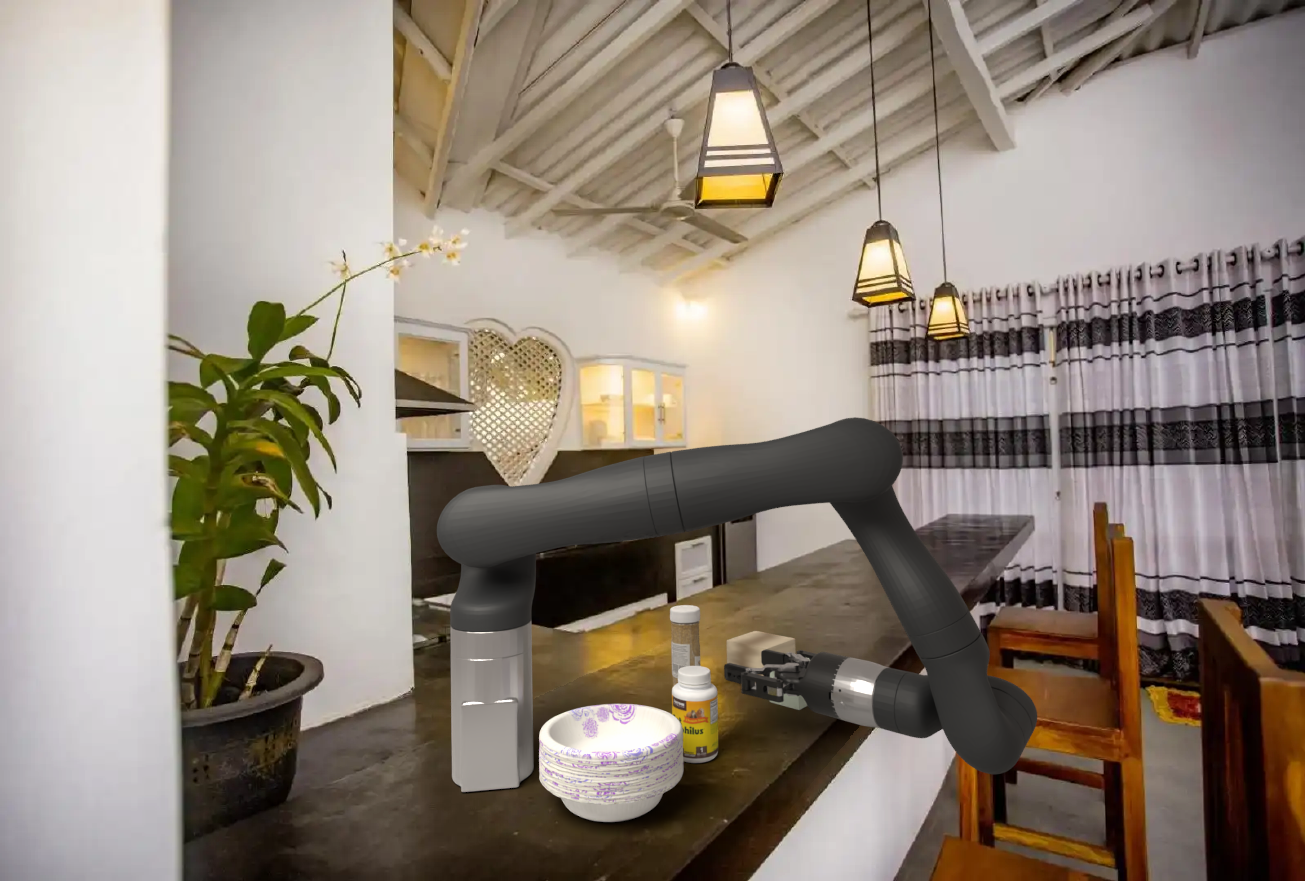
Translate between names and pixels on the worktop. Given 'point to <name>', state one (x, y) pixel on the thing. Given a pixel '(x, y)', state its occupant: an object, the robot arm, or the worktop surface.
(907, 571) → the robot arm
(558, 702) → the worktop surface
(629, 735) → the paper bowls
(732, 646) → the beech pedestal
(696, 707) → the supplement bottle
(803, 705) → the sage block
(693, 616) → the brown spice jar
